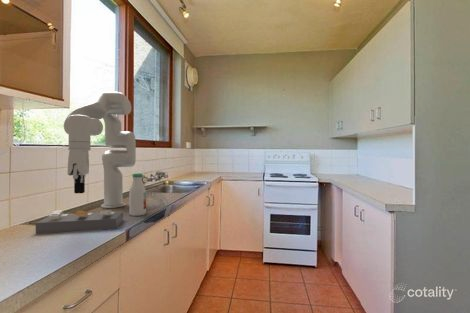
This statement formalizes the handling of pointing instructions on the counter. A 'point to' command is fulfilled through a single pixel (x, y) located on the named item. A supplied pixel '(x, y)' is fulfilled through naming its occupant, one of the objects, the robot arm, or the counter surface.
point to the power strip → (80, 222)
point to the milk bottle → (137, 196)
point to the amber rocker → (81, 213)
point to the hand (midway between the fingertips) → (79, 192)
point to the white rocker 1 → (56, 214)
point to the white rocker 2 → (105, 212)
